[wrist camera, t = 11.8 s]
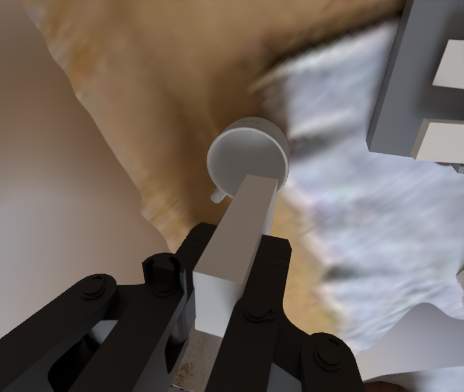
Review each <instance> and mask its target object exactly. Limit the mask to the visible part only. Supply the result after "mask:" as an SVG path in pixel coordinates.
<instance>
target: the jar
mask: <svg viewBox="0 0 464 392" xmlns="http://www.w3.org/2000/svg"><path fill="white" fill-rule="evenodd" d="M456 279H457V282H458V284H459V287H460V288H461V290H462V292H463V300H462V304H463V307H464V270H462V271H461V272H460V273H459V274H458V275H457V276H456Z"/></svg>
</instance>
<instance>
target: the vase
mask: <svg viewBox="0 0 464 392" xmlns="http://www.w3.org/2000/svg"><path fill="white" fill-rule="evenodd" d="M189 334H190V340H189V344H188V347H187V349H186V352H185V354H184V356H183V358H182V361H181V363H180V365H179V367H178V370H177V372H176V374H175V376H174V379H173V381H172V383H171V386H170V388H169V390H168V392H204V391H205V388H206V385H207V382H208V380H209V377H210V374H211V371H212V368H213V365H214V362H215V359H216V357H217V354H218V351H219V348H220V345H221V342H222V339H223V337H219V336H216V335H213V334H209V333H206V332H203V331H199V330H196V329H195V321H194V323H193V325H192V327H191V330H190V332H189Z"/></svg>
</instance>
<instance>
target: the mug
mask: <svg viewBox="0 0 464 392" xmlns="http://www.w3.org/2000/svg"><path fill="white" fill-rule="evenodd" d="M363 385H364V389H365V392H408V391H407V390H405V389H404V388H402V387H401V386H399V385H394V384H389V383H384V382H380V381H379V382H373V383H367V384H363Z"/></svg>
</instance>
